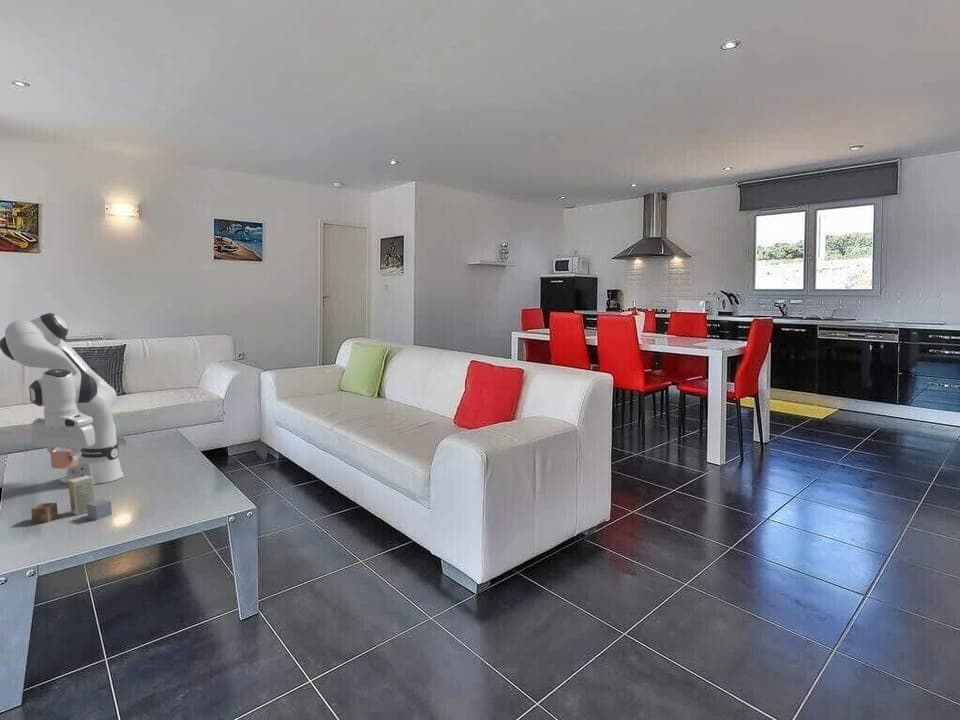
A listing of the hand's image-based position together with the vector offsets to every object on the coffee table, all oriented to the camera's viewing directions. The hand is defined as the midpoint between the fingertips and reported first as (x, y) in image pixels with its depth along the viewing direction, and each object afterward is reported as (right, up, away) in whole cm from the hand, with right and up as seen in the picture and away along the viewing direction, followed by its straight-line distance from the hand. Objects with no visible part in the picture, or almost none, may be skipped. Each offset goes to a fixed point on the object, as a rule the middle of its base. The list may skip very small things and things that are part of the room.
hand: (64, 459), depth 183 cm
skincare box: (-3, -21, +13) cm, 25 cm away
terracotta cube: (0, -2, 0) cm, 2 cm away
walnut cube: (-11, -22, +6) cm, 25 cm away
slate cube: (+6, -21, +9) cm, 24 cm away
